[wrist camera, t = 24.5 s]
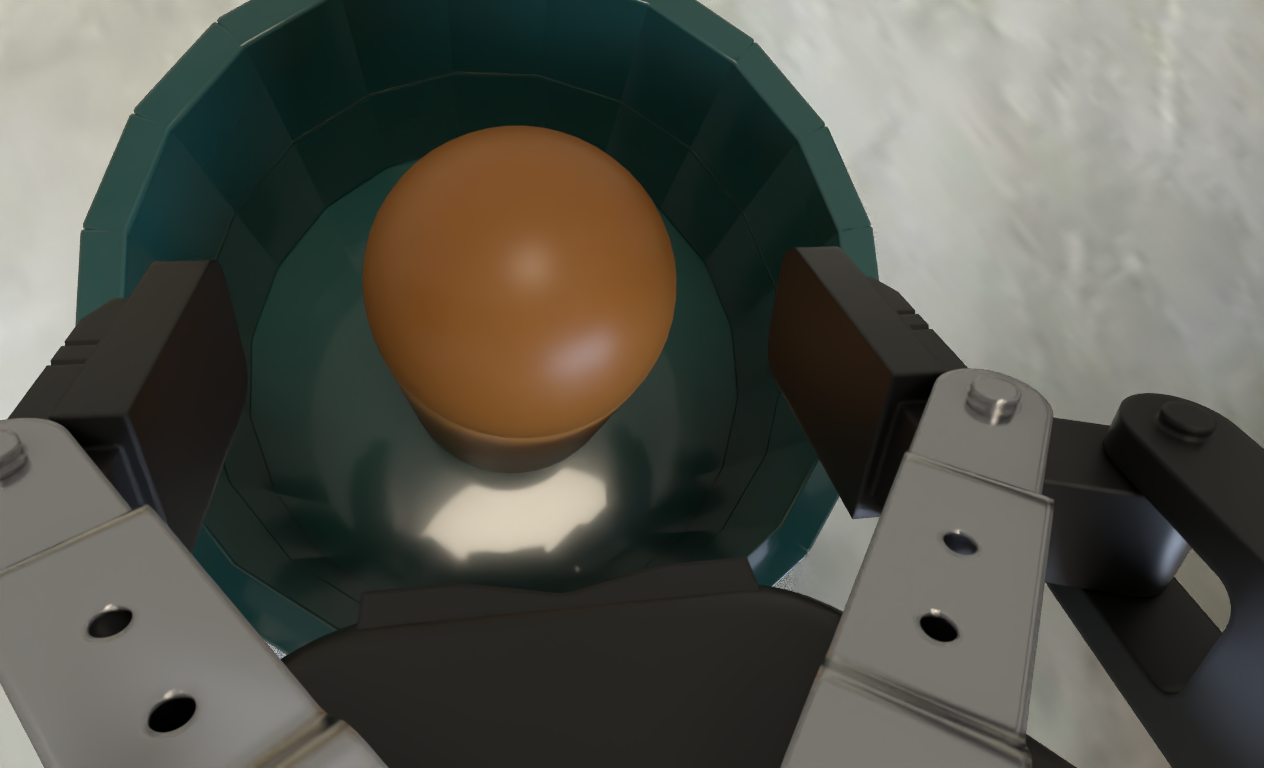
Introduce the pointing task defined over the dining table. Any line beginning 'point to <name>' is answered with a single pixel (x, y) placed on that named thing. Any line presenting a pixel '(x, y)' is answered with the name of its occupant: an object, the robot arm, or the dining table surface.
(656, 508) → the pot
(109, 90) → the dining table surface
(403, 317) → the brown rounded cylinder
